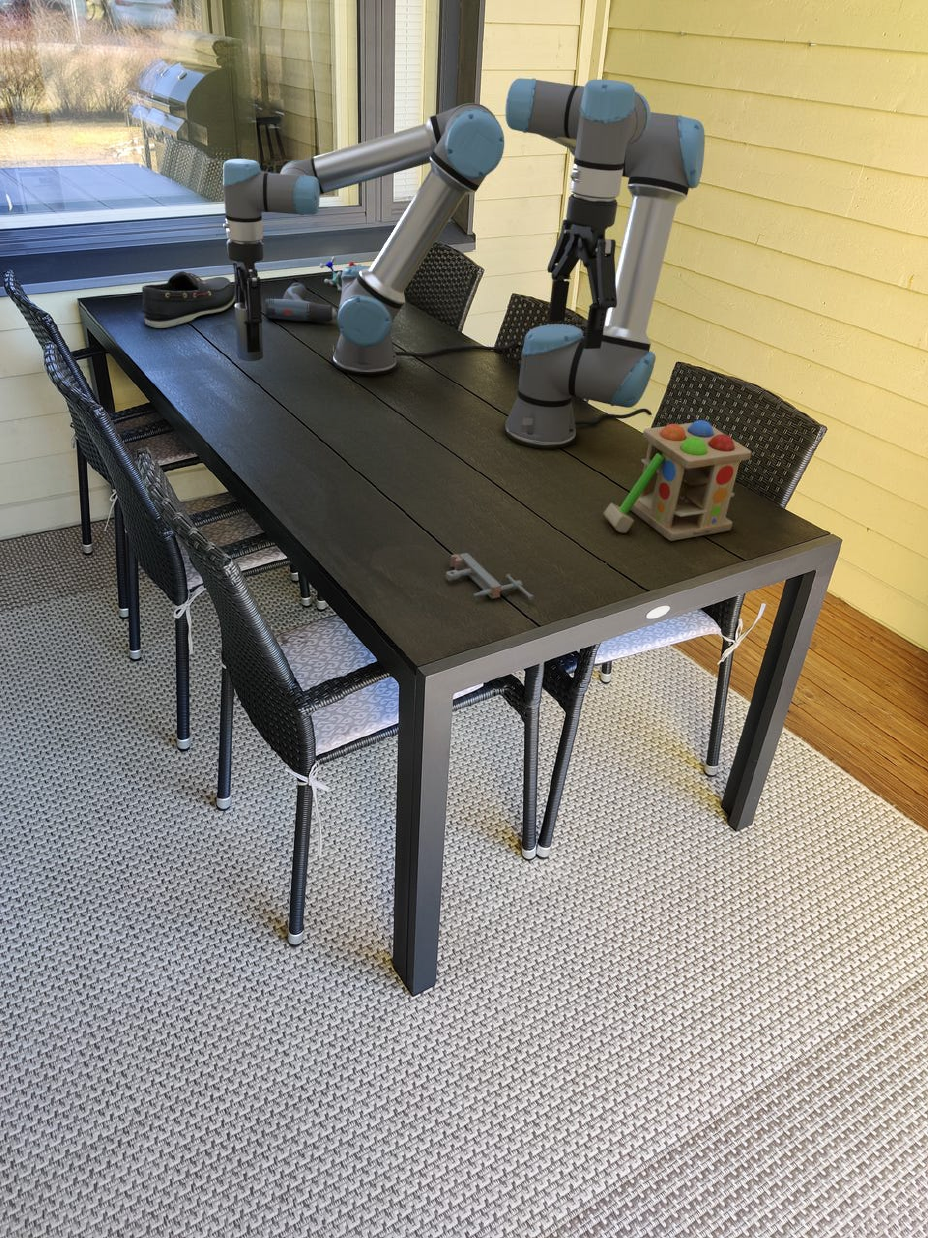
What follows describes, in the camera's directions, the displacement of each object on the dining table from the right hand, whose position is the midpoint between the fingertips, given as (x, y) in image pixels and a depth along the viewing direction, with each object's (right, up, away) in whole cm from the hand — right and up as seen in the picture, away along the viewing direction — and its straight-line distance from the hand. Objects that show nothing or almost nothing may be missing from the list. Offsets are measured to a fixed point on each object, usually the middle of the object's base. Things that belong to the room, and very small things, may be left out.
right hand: (573, 333), depth 161 cm
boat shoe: (-90, +35, +99) cm, 138 cm away
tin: (-66, +13, +61) cm, 91 cm away
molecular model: (-55, +51, +129) cm, 149 cm away
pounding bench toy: (+19, -29, +22) cm, 41 cm away
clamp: (-15, -42, -2) cm, 44 cm away
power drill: (-61, +37, +106) cm, 128 cm away
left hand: (-66, +15, +60) cm, 90 cm away
